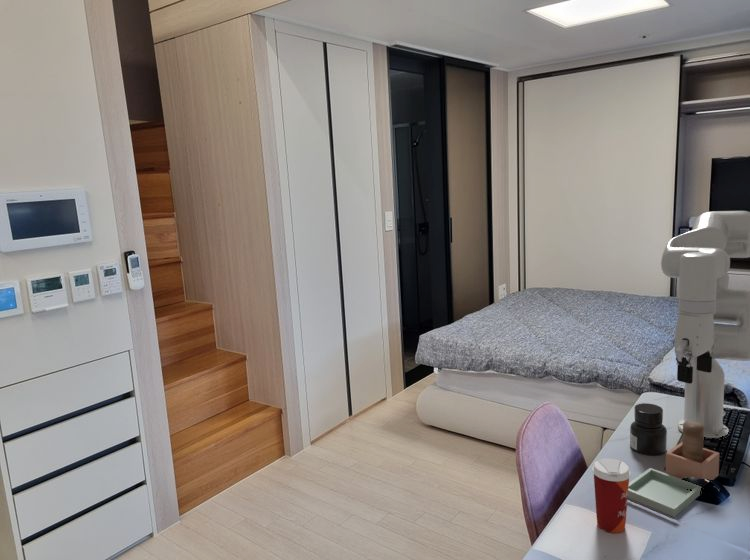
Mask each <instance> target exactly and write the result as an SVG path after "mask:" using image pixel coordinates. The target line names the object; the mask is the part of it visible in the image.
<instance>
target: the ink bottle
mask: <svg viewBox="0 0 750 560" xmlns="http://www.w3.org/2000/svg"><path fill="white" fill-rule="evenodd" d="M663 420H664V410H663V408H662V407H661V406H659V405H657V404H654V403H644V402H643V403H638V404H636V405H635V406H634V421H633V422H632V423H631V424H630V427H629V428H630V429H629V432H630V434H629V447H630V449H631V450H632V451H633V452H634V453H637V454H641V455H643V456H648V457H657V456H658V457H659V456H662V455H664V454H666V453H667V442H668V441H667V440H668V439H667V437H668V435H667V434H668V433H667V430H668V429H667V428H666V426H665V425H664V424H663Z"/></svg>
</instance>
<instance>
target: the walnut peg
mask: <svg viewBox="0 0 750 560" xmlns="http://www.w3.org/2000/svg"><path fill="white" fill-rule="evenodd" d="M682 441H683V442H682ZM682 441H681V442H682V457H684V458H687V459H690V460H693V461H696V462H699V463H702V462H703V448H704V441H705V440H704V426H703V425H702V424H700V423H696V422H685V423H683V433H682Z"/></svg>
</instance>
